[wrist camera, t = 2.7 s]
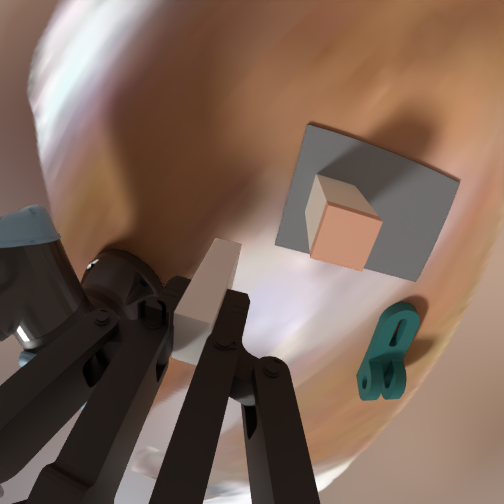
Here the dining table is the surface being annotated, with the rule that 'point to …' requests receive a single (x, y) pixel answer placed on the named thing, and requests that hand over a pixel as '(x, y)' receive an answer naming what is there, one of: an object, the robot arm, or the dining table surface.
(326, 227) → the cream block
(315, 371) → the dining table surface
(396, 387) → the bracket
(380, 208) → the slate mat
